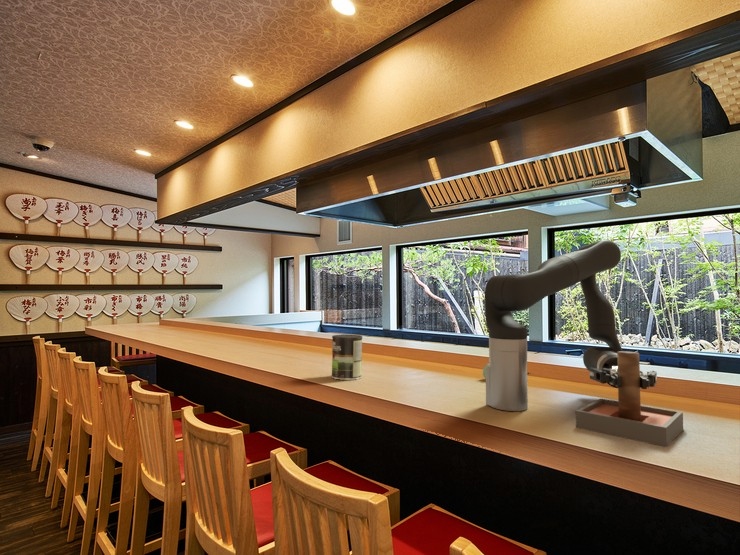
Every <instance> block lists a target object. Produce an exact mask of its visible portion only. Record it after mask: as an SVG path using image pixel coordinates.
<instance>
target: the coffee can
mask: <svg viewBox="0 0 740 555" xmlns="http://www.w3.org/2000/svg"><path fill="white" fill-rule="evenodd" d="M331 339H332V345H331V346H332V347H331V348H332V350H331V352H332V353H331V354H332V355H331V379H333V378H334V379H333V380H336V379H340V380H339V381H356V380H355V379H358V380H361V379H362V361H363V360H362V359H363V358H362V356H363V355H362V354H363V353H362V349H363V335H358V334H334V335H332V336H331ZM360 378H361V379H360Z"/></svg>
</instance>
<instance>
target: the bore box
mask: <svg viewBox="0 0 740 555" xmlns="http://www.w3.org/2000/svg"><path fill="white" fill-rule="evenodd" d="M575 428H577V429H583V430H586V431H592V432H596V433H601V434H606V435H609V436H614V437H619V438H624V439H629V440H634V441H638V442H643V443H647V444H652V445H657V446H661V447H665V448H667V447H668V446H669V445H670V444H671V443H672V442H673V441H674V440H675V439H676V437H678V435H679V434H680V433H681V432H682V431H683V430H684V411H679V410H678V411H677V410H673V409H666V408H660V407H654V406H648V405H642V404H641V421H634V420H629V419H624V418H619V404H618V401H617V400H611V399H606V398H599V399H597V400H595V401H593V402H591V403H589V404H587V405H585V406H582V407H580V408H579V409H576V410H575Z"/></svg>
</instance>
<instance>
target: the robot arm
mask: <svg viewBox="0 0 740 555" xmlns="http://www.w3.org/2000/svg"><path fill="white" fill-rule="evenodd" d="M621 257H622V252H621V250H620V247H619V246H618V245H617V243H616V242H614V241H612V240H610V239H601V240H597V241H594V242H591V243H589V244H585V245H583V246H580V247H579V248H578V249H577V250H576V251H571V252H568V253H564V254H559V255H556V256H554V257H552V258H548V259H547V260H545V261H543V262H542V263H540V265H538V268H537V269H536V271H535V270H534V271H533V272H527V273H521V274H520V273H518V274H498V275H493V276H491V277H490V278H489V279H488V280H487V282H486V285H485V288H484V309H485V312H484V313H485V314H484V315H485V325H486V328H487V330H488V331H487V332H488V352H489V353H488V364H489V367H486V379H485V405H486V406H489V407H492V408H493V409H497V410H502V411H511V412H522V411H526V410H528V406H529V405H528V404H529V402H528V401H529V399H528V398H529V397H528V390H529V389H528V386H529V384H528V382H529V381H528V377H529V376H528V373H527V361H528V329H527V328H526V326H524V325H523V324H521V323H519V322H517V321H516V320H515V319H514V317H513V314H512V312H523V311H526V310H528V309H529V308H532V306H534V305H536V304H537V303H539V302H540V301H542V300H543V299H544V298H546V297H549V296H551V295H554V294H556V293H558V292H560V291H564V290H566V289H568V288H570V287H572V286H574V285H576V284H578V283H580V286H581V289H582V294H583V296H584V301H585V306H586V315H587V316H586V318H587V332H588V337H589V338H591V339H592V340H595V341H600V342H603V343H605V344H606V345H607V346H608V347H604V346H603V347H600V346H597V347H596V346H593V347H588V348H586V349H585V351H584V353H583V355H582V360H583V365H584V367H585V369H587V371H588V372H589V379H590V380H593V381H596V382H598V383H599V384H600V383H601V384H607V385H608V386H610V387H612V388H614V389H618V387H621V377H620V376H619V375H618V358H617V352H619V351H624V350H623V348H622V345H621V343H620V341H619V337H618V335H617V327H616V318H615V312H614V309H613V306H612V304H611V303H610V301H609V300H608V299H607V297H606V296H605V295H604V293H602V291H601V290H600V288H599V287H598V284H597V278H596V274H598V273H602V272H605V271H608V270H611V269H614V268H616V267H617V266H618V265H619V263H620V261H621ZM657 375H658V374H657V371H655V370H651V371H647V372H646V373H644V372H643V371H642V370H640V389H641V390H647V388H654V387H655V386H656V385H657V384H658V377H657Z"/></svg>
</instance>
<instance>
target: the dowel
mask: <svg viewBox="0 0 740 555" xmlns="http://www.w3.org/2000/svg"><path fill="white" fill-rule="evenodd" d="M617 358H618V375H619V376H620V377H621V387H618V388H617V391H618V392H617V394H618V395H617V396H618V404H619V418H624V419H629V420H634V421H641V405H642V404H641V387H640V371H641V369H640V368H641V364H640V353H639V352H637V351H636V352H635V351H624V350H623V351H619V352H617Z"/></svg>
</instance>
